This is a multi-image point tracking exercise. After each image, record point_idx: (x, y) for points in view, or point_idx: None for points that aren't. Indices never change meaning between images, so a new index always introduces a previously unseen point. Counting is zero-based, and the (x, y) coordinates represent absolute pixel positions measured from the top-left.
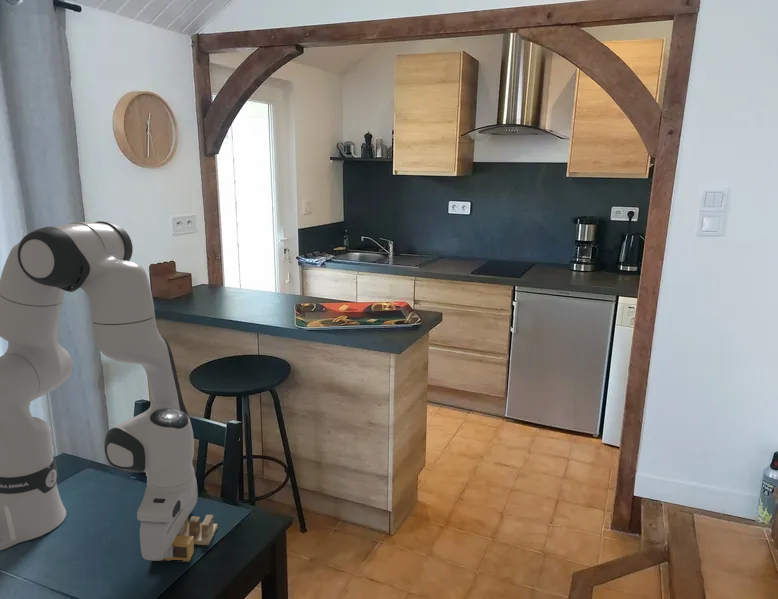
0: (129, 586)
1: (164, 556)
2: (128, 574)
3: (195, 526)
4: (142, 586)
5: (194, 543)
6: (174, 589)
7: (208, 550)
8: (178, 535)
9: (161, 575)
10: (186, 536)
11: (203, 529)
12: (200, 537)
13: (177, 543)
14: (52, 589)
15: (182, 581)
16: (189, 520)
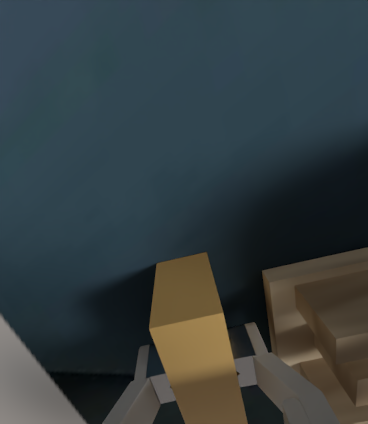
0: (4, 278)
1: (140, 351)
2: (48, 236)
3: (336, 373)
4: (30, 313)
5: (272, 340)
6: (71, 387)
7: None
8: (240, 396)
9: (101, 332)
10: (242, 420)
11: None
12: (296, 360)
13: (185, 418)
14: None
15: (107, 388)
16: (364, 380)
